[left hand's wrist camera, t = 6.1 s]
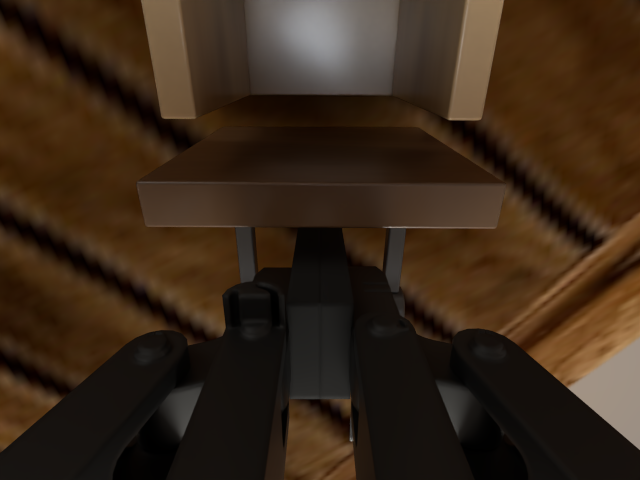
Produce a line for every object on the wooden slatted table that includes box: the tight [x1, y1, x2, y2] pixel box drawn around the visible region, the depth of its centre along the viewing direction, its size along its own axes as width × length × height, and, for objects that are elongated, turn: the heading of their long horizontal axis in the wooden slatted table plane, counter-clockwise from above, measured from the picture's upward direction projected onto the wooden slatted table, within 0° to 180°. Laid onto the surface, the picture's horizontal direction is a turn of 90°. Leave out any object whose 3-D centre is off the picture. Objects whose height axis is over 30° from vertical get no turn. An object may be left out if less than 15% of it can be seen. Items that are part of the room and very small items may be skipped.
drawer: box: [136, 0, 506, 317], centre depth 11 cm, size 22×9×9 cm, turn 0°
